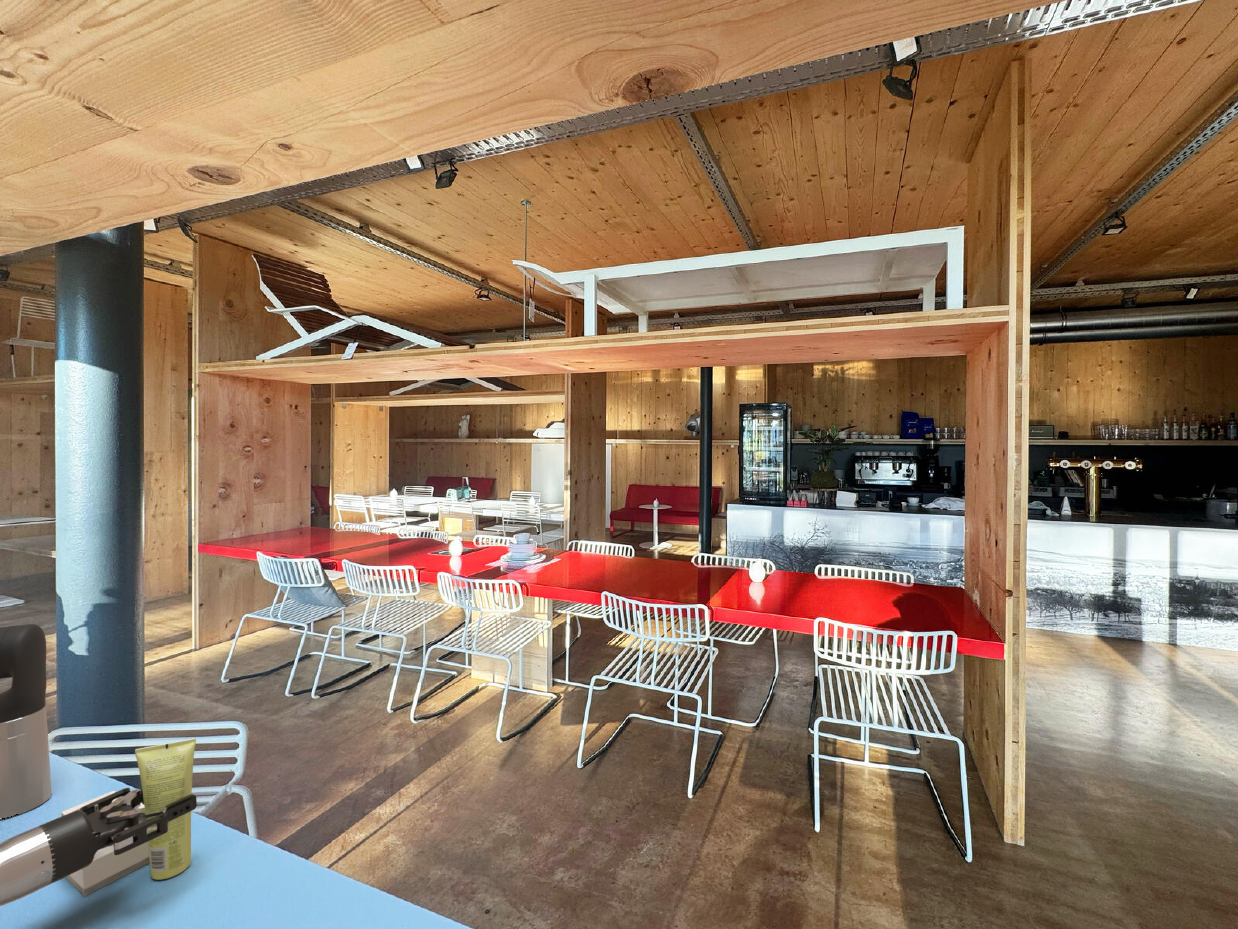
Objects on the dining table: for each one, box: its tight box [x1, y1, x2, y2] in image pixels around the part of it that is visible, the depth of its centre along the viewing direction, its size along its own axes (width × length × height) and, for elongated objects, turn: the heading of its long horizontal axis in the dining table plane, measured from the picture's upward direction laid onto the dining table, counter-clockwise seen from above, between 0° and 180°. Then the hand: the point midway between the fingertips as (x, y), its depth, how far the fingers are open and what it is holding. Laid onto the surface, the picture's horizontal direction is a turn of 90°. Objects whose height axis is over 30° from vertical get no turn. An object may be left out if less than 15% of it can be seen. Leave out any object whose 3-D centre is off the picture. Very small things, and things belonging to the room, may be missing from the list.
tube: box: [134, 737, 197, 881], centre depth 89 cm, size 6×5×20 cm
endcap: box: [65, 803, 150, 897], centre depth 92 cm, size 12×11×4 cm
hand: (182, 792), depth 90 cm, fingers open, 8 cm apart
